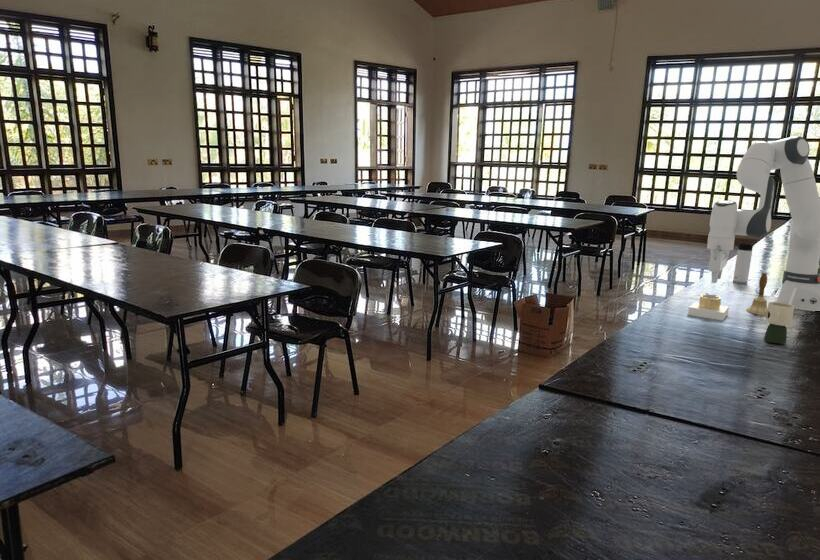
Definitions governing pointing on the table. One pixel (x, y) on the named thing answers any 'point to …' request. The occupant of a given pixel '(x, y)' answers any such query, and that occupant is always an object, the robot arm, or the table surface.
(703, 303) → the brass ring
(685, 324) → the table surface
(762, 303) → the hand bell
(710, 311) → the block
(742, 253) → the travel mug
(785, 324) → the character mug
